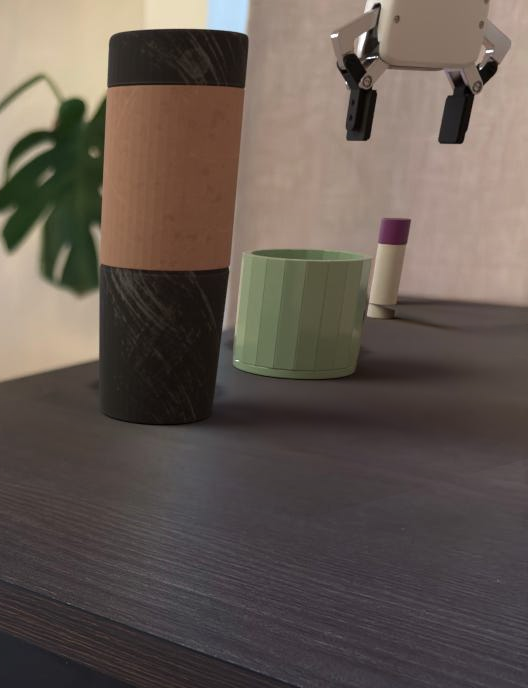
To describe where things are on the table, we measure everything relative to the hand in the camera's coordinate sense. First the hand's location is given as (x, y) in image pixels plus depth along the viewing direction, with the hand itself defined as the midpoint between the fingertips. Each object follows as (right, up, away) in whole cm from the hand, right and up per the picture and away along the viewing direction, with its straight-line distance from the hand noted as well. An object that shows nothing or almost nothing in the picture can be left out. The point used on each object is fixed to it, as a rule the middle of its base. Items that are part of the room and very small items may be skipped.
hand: (404, 142), depth 88 cm
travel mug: (-26, -32, -28) cm, 50 cm away
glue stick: (0, -14, +7) cm, 16 cm away
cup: (-14, -25, -15) cm, 33 cm away
